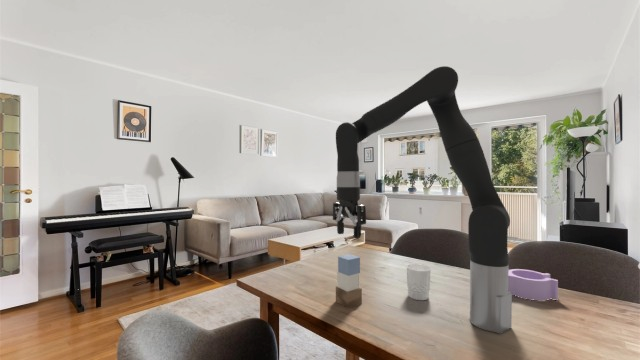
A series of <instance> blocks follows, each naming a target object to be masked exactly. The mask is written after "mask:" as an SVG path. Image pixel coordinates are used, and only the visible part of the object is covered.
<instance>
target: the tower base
mask: <svg viewBox="0 0 640 360" xmlns="http://www.w3.org/2000/svg"><path fill="white" fill-rule="evenodd" d="M362 292H363V288H362V287H360V286H359V289H355V290H352V291H349V292H347V291H345V290H343V289H341V288H339V287H337V286H336V285H335V303H338V304H339V305H341V306H342V307H344V308H346V309H349V308H352V307H356V306H359V305H362V303H363V300H362V299H363V295H362V294H363V293H362Z"/></svg>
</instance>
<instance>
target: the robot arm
mask: <svg viewBox="0 0 640 360" xmlns="http://www.w3.org/2000/svg"><path fill="white" fill-rule="evenodd" d="M458 84H459V76H458V73H457V71H456V70H455V69H454V68H452V67H450V66H447V65H443V66H442V65H441V66H438V67H434V69H432V70H430V71H428V72H427V73H426V74H425V75H424V76H422V77H421V78H419V80H418V81H416V82H414V84H412V85H410V86H409V87H408V88H407V87H406V89H405V90H403V91H401V92H399V94H397V95H395V96H393V97H392V98H390V99H389V100H386V101H385V102H383V103H382V104H378V106H376V107H373V108H372V109H370V110H369V111H366V112H365V113H364V114H363V115H362V116H360V118H359V119H357V120H355V121H353V122H342V123H341V124H339V126H338V127H337V128H336V131H335V145H336V153H337V154H336V155H337V160H336V166H337V167H336V168H337V170H336V171H337V172H336V173H337V174H336V200H337V201H336V202H333V203H332V220H333V221H335V222H336V226H337V227H336V231H337V235H344V233H345V223H344V221H345V220H346V218H349V220H350V221H351V222H352V223H353V224H352V225H353V238H354V239H359V238H361V236H362V226H363V225H366V224H367V215H366V214H367V213H366V205H365V204H359V201H360V200H361V177H360V159H359V155H358V154H359V153H358V144H359V143H360V142H362V141H365V139H367V138H368V137H370V136H371V135H373V134H375V133H377V132H379V131H382V130H383V129H385V128H387V127H389V126H390V125H393V124H395V122H397V121H399V120H400V119H401V118H402V117H404V116H405V115H406V114H407V113H408V112H410V111H411V110H412V109H414V108H416V107H418V106H419V105H421V104H423V103H425V102H427V104H428V106H429V108H430V110H431V112H432V114H433V116H434V118H435V121H436V123H437V126H438V127H437V128H438V130H439V133H440V137H441V141H442V144H443V146H444V150H445V152H446V156H447V159H448V162H449V164H450V166H451V168H452V170H453V172H454V173H455V175H456V177H457V178H458V180H459V182H460V183H461V184H462V186H463V188H464V189H465V191H466V193H467V196H468V199H469V202H470V206H471V210H472V211H471V212H470V214H469V217H468V223H467V224H468V225H467V227H468V228H467V230H468V251H469V253H470V254H469V256H470V260H469V261H470V262H469V263H470V265H469V266H470V267H469V270H470V271H469V272H470V273H469V276H470V277H469V321H470V323H471V324H472V325H474V326H475V327H477V328H479V329H481V330H485V331H487V332H495V333H497V334H502V333H504V332H506V331H508V330H510V329H511V328H512V324H513V323H512V321H513V320H512V316H513V315H512V313H513V312H512V311H513V309H512V307H513V305H512V304H513V301H512V300H513V298H512V297H513V296H512V293H511V292H508V270H509V268H510V267H509V263H510V262H509V261H510V260H509V259H510V257H509V252H508V233H509V232H508V231H509V228H510V225H511V218H510V214H509V212H508V211H507V209H506V207H505V206H504V204H503V201H502V200H501V198H500V196H499V194H498V192H497V190H496V187H495V185H494V182H493V180H492V179H493V178H492V176H491V172H490V169H489V165H488V162H487V159H486V156H485V153H484V150H483V147H482V145H481V142H480V140H479V137H478V135H477V134H476V132H475V131H474V129H473V127H472V126H471V125H470V124H469V122H468V121H467V120H466V119H465V116H463V114H462V112H461V109H460V106H459V104H458V100H457V97H456V90H457V87H458ZM509 328H510V329H509Z"/></svg>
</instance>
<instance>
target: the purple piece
mask: <svg viewBox="0 0 640 360" xmlns="http://www.w3.org/2000/svg"><path fill="white" fill-rule="evenodd" d="M508 292H511V293H512V295H516V296H519V297H522V298H527V299H534V300H547V299H550V298H552V299H556V300H557V299H558V300H559V280H558V279H556V278H555V279H554V278H551V273H547V272H545V273H542V272H539V271H536V270H531V269H521V268H514V269H513V268H512V269H508ZM516 296H515V297H516ZM519 297H518V298H519ZM522 298H521V299H522Z"/></svg>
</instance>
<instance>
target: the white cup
mask: <svg viewBox="0 0 640 360" xmlns="http://www.w3.org/2000/svg"><path fill="white" fill-rule="evenodd" d="M431 269H432V268H431V267H430V266H428V265H426V264H419V263H412V264H411V263H410V264H407V265H406V285H407V295H408V297H409V298H410V299H412V300H416V301H426V300H428V299H429V298H430V290H431V289H430V288H431V287H430V286H431V273H432V270H431Z"/></svg>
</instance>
